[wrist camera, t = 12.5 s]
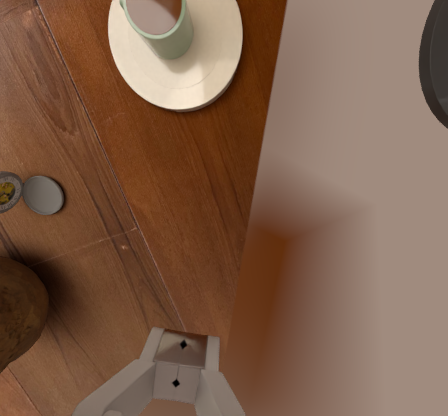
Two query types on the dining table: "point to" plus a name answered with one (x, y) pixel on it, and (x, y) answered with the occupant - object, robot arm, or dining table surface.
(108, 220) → the dining table surface
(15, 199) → the pocket watch
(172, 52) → the teacup
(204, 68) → the plate
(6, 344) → the bowl
